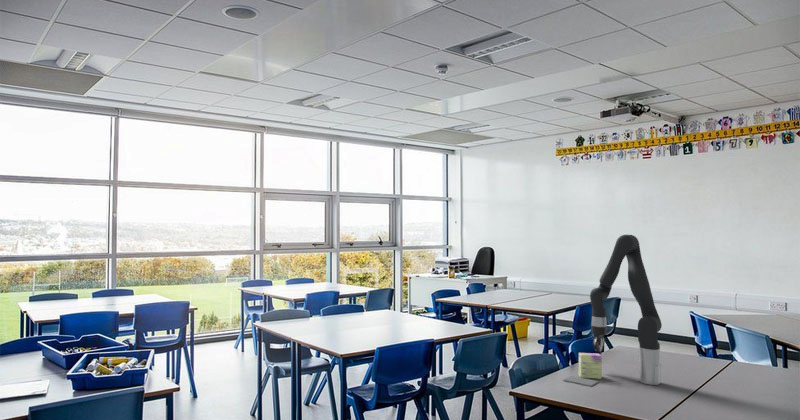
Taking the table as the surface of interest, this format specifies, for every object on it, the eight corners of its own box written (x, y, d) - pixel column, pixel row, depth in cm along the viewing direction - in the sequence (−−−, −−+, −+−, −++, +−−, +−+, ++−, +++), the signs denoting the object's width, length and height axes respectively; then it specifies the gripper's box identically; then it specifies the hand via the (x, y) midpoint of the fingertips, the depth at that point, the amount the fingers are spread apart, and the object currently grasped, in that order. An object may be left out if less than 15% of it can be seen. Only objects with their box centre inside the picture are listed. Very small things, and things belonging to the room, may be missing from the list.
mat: (598, 382, 266) (598, 381, 266) (591, 386, 258) (591, 385, 258) (571, 377, 275) (571, 375, 275) (563, 381, 267) (563, 379, 267)
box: (598, 376, 278) (598, 353, 279) (601, 379, 272) (601, 355, 273) (578, 375, 279) (578, 352, 280) (580, 378, 274) (580, 354, 274)
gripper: (601, 327, 279) (601, 361, 279) (610, 324, 289) (609, 356, 289) (587, 325, 284) (587, 358, 284) (596, 322, 294) (596, 354, 294)
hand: (598, 357), depth 286 cm, fingers closed
